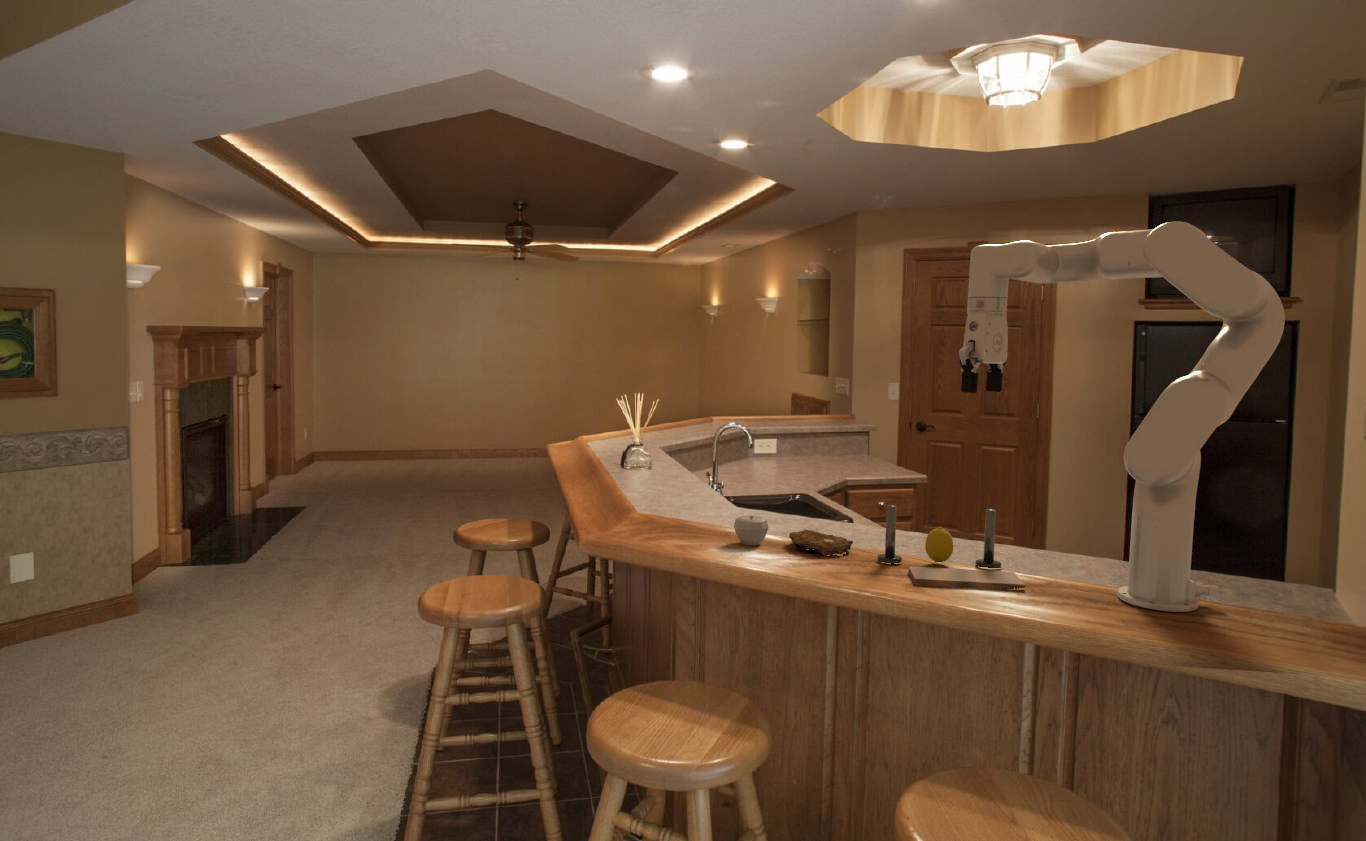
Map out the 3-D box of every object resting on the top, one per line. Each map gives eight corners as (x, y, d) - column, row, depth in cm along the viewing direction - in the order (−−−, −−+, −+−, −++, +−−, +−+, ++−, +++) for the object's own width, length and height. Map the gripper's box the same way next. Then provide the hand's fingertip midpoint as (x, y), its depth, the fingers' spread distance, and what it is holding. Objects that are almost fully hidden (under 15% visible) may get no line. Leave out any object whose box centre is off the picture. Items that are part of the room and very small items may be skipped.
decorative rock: (774, 551, 181) (834, 565, 172) (775, 533, 181) (834, 546, 171) (800, 539, 190) (859, 552, 181) (801, 522, 189) (859, 534, 180)
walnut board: (1012, 577, 160) (1012, 571, 160) (1024, 590, 151) (1025, 584, 151) (908, 572, 163) (908, 566, 163) (914, 584, 154) (915, 578, 154)
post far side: (900, 559, 173) (902, 504, 172) (903, 565, 168) (905, 508, 167) (876, 558, 174) (878, 503, 172) (878, 564, 169) (880, 507, 168)
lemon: (953, 568, 166) (955, 530, 165) (926, 566, 167) (927, 528, 166) (950, 561, 171) (952, 524, 171) (923, 560, 172) (925, 523, 172)
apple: (748, 549, 179) (749, 520, 179) (726, 542, 186) (726, 514, 185) (775, 545, 184) (776, 516, 184) (752, 538, 190) (753, 510, 190)
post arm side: (997, 564, 170) (1000, 508, 169) (1003, 570, 165) (1006, 512, 164) (973, 563, 171) (975, 507, 170) (978, 569, 166) (980, 511, 165)
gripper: (982, 305, 155) (976, 394, 156) (1025, 309, 166) (1019, 392, 168) (947, 305, 160) (941, 391, 162) (991, 309, 171) (985, 389, 173)
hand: (981, 391), depth 165 cm, fingers open, 9 cm apart
